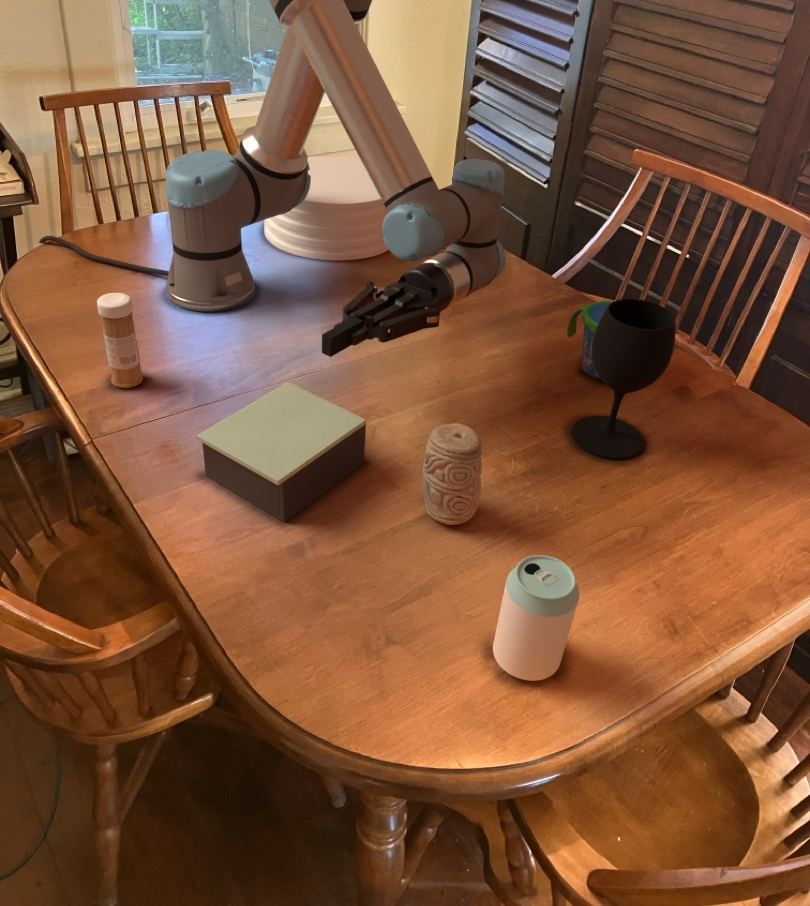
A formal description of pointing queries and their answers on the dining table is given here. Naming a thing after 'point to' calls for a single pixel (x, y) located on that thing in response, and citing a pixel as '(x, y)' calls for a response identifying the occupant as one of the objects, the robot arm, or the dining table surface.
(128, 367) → the sprinkles bottle
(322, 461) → the dark grey box
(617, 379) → the wine glass
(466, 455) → the carving
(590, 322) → the snack cup
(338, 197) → the plate stack
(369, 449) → the dining table surface
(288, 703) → the dining table surface
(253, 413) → the cover
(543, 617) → the can
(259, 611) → the dining table surface
